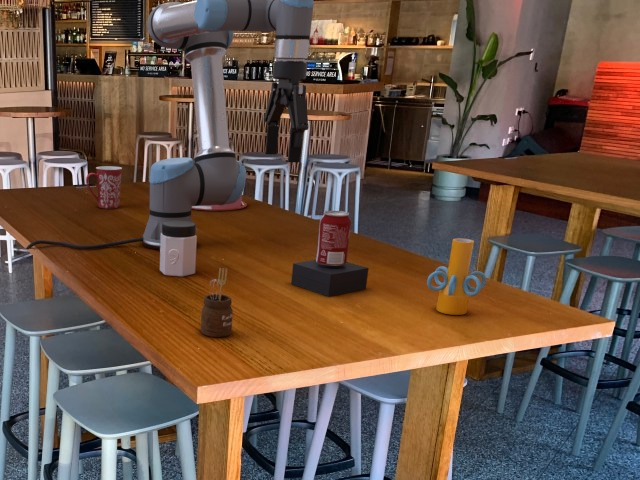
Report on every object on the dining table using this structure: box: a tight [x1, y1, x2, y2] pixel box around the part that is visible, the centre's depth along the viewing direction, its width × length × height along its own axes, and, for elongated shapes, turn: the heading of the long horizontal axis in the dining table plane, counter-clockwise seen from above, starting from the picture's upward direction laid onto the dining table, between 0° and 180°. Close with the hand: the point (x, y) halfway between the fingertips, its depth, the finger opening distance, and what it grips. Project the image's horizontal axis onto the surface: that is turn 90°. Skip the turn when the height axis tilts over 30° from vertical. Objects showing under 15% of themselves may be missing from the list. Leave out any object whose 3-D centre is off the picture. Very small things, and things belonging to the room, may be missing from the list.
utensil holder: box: [200, 267, 234, 338], centre depth 149 cm, size 6×6×12 cm
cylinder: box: [426, 237, 487, 316], centre depth 163 cm, size 12×10×15 cm
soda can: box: [315, 210, 352, 268], centre depth 179 cm, size 7×7×12 cm
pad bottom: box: [290, 273, 368, 297], centre depth 183 cm, size 12×12×2 cm
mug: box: [85, 165, 123, 210], centre depth 275 cm, size 13×9×14 cm
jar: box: [159, 220, 198, 278], centre depth 192 cm, size 9×8×12 cm
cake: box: [191, 194, 248, 212], centre depth 282 cm, size 25×25×11 cm
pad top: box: [291, 259, 369, 285], centre depth 182 cm, size 12×12×2 cm
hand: (281, 158), depth 186 cm, fingers open, 13 cm apart
